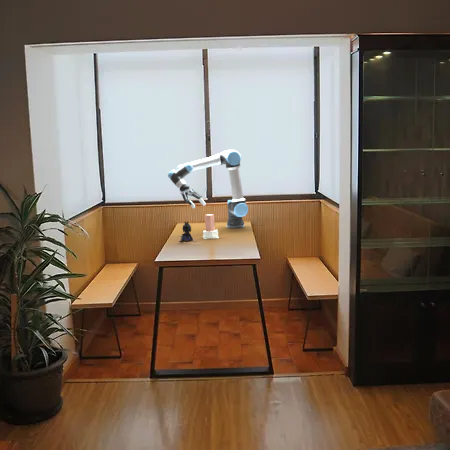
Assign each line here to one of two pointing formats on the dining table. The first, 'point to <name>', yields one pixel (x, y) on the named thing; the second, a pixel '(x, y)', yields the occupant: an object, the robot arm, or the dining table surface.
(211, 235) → the base brick
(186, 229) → the figurine
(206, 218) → the tall brick
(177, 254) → the dining table surface
